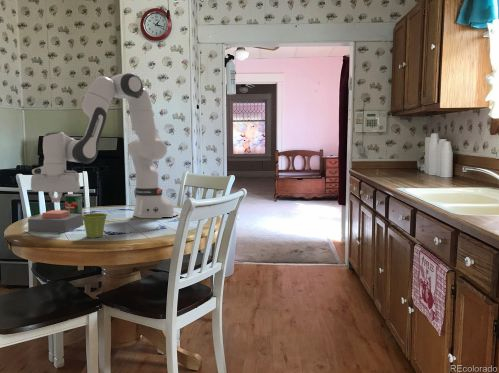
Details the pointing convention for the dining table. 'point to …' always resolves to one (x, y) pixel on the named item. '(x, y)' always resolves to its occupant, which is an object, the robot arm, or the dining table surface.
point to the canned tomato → (73, 203)
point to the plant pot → (94, 224)
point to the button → (56, 214)
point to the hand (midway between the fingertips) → (56, 202)
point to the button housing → (55, 223)
